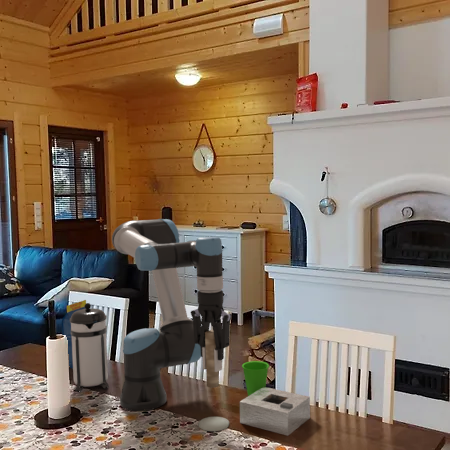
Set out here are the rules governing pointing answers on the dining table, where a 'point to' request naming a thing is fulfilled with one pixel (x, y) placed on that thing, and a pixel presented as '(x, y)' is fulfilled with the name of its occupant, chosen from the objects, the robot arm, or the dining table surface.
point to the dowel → (211, 360)
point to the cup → (255, 375)
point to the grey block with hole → (275, 410)
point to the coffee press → (89, 347)
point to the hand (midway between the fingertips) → (212, 369)
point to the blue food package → (67, 326)
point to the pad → (213, 424)
